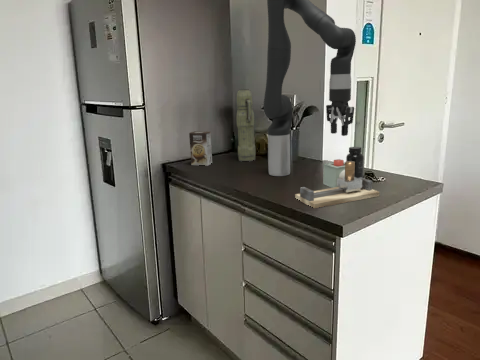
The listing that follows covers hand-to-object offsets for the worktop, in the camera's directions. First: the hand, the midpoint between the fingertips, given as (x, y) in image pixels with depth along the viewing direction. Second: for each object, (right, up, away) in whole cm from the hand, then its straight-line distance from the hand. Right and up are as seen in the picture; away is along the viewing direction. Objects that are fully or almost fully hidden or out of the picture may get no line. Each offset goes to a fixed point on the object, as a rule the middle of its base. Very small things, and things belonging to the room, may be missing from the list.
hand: (338, 134), depth 143 cm
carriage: (+2, -20, -7) cm, 22 cm away
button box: (+1, -19, +5) cm, 19 cm away
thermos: (-33, -7, +56) cm, 65 cm away
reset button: (+1, -13, +4) cm, 14 cm away
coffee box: (-55, -9, +51) cm, 76 cm away
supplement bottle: (+10, -16, +16) cm, 25 cm away
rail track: (-3, -23, -9) cm, 25 cm away
